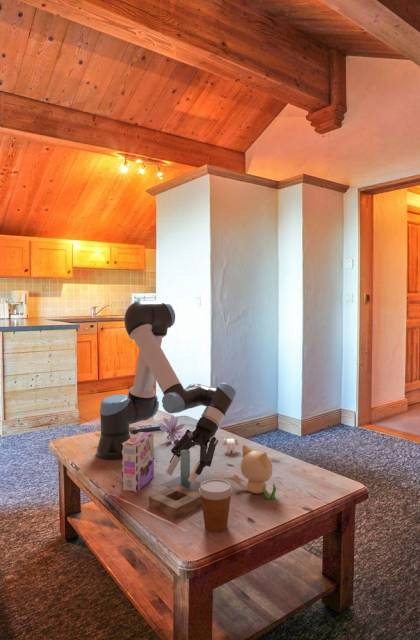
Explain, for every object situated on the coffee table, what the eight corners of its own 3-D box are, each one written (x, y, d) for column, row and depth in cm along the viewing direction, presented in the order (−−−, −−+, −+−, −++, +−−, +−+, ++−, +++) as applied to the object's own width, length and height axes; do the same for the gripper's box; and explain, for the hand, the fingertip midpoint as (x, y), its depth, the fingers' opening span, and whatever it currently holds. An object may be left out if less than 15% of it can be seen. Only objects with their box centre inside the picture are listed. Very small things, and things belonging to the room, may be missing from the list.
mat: (160, 485, 152) (160, 484, 152) (181, 476, 160) (181, 475, 160) (185, 496, 144) (185, 494, 144) (206, 486, 152) (206, 484, 152)
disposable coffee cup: (198, 519, 129) (197, 479, 129) (230, 517, 130) (230, 477, 129) (200, 536, 120) (199, 493, 119) (234, 535, 121) (234, 492, 120)
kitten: (284, 494, 145) (285, 449, 144) (264, 504, 138) (264, 457, 137) (251, 480, 156) (251, 439, 155) (231, 489, 149) (231, 445, 148)
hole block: (149, 507, 136) (148, 496, 136) (176, 494, 145) (176, 484, 145) (176, 520, 129) (176, 508, 128) (203, 505, 138) (203, 494, 137)
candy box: (137, 493, 146) (136, 444, 145) (121, 491, 148) (120, 443, 147) (154, 477, 160) (154, 432, 159) (139, 475, 161) (139, 430, 160)
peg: (178, 485, 151) (178, 451, 150) (185, 482, 154) (185, 448, 153) (185, 488, 149) (185, 453, 148) (192, 485, 151) (191, 451, 151)
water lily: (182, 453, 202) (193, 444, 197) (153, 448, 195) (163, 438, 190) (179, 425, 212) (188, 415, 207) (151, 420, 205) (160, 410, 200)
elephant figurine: (238, 448, 188) (237, 435, 188) (239, 455, 180) (239, 441, 180) (222, 449, 188) (222, 435, 188) (223, 456, 180) (223, 441, 180)
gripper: (238, 433, 154) (209, 492, 143) (192, 421, 169) (162, 474, 158) (229, 422, 150) (198, 482, 139) (182, 410, 165) (150, 464, 154)
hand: (179, 478), depth 149 cm, fingers open, 10 cm apart
